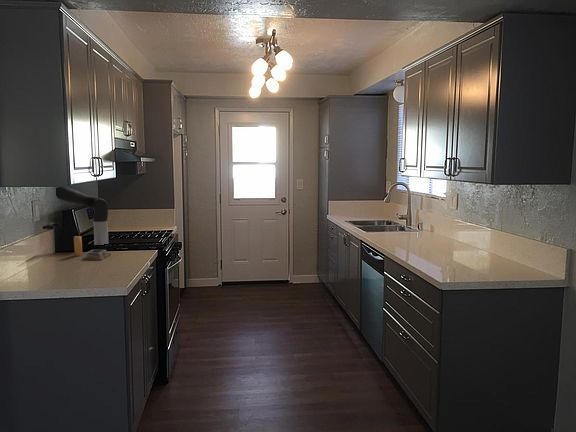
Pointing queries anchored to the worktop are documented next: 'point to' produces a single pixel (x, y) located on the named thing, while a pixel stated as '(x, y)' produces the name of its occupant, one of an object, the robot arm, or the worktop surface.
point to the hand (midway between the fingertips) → (56, 226)
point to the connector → (78, 245)
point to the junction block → (96, 255)
